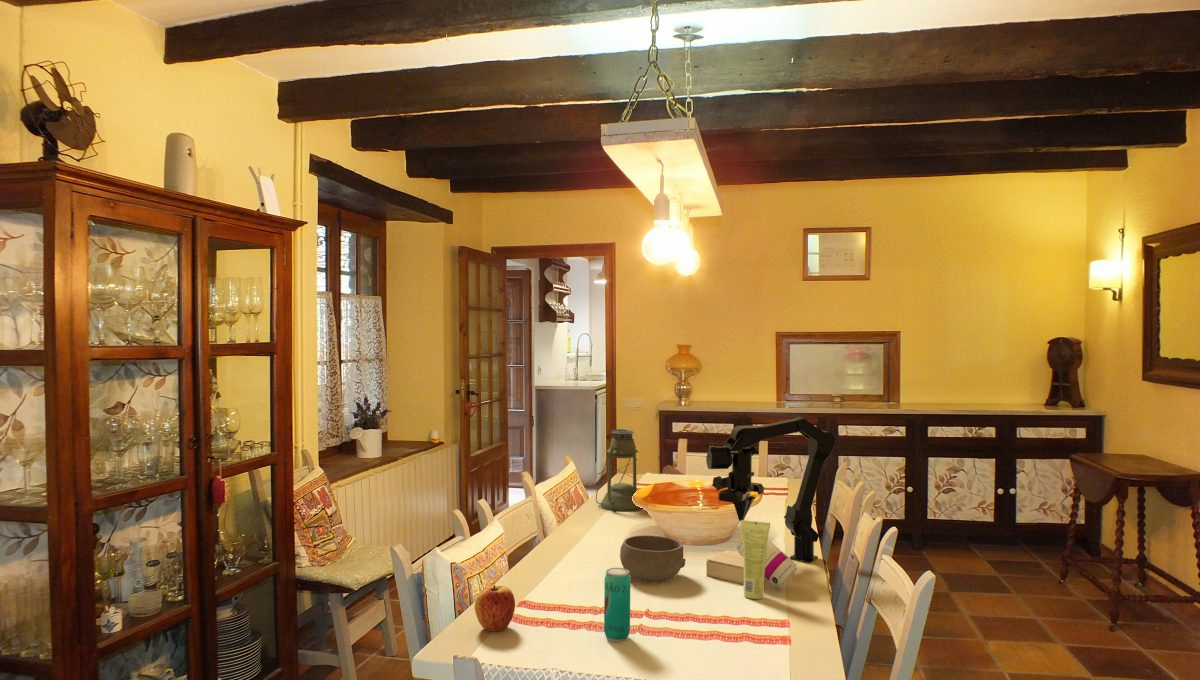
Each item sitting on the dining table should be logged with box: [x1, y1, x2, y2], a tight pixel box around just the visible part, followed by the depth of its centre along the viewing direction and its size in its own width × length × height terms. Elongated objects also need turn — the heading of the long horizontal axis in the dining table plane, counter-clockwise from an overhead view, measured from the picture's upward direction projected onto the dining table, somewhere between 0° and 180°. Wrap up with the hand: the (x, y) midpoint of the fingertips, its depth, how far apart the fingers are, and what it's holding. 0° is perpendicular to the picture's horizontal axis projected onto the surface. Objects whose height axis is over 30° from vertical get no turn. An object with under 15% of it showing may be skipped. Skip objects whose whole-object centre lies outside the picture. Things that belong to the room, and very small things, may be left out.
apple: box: [474, 584, 516, 632], centre depth 174 cm, size 9×9×10 cm
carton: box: [705, 553, 767, 585], centre depth 214 cm, size 12×14×5 cm
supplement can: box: [736, 538, 798, 589], centre depth 205 cm, size 8×8×15 cm
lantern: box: [595, 428, 642, 513], centre depth 297 cm, size 21×18×30 cm
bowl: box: [619, 534, 686, 584], centre depth 211 cm, size 17×18×10 cm
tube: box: [740, 519, 771, 600], centre depth 197 cm, size 6×5×20 cm
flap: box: [719, 549, 743, 559], centre depth 217 cm, size 5×14×1 cm, turn 53°
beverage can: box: [603, 567, 631, 643], centre depth 169 cm, size 6×6×15 cm
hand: (741, 520), depth 228 cm, fingers closed
